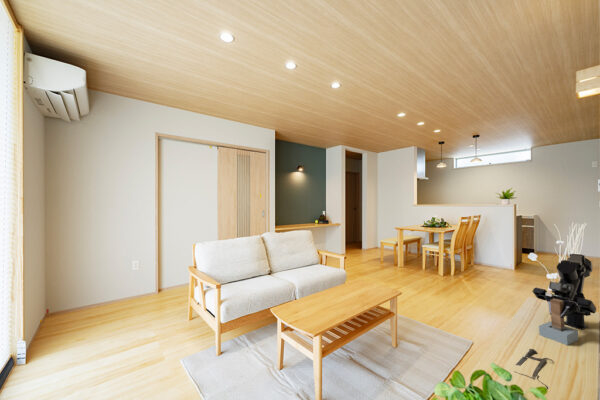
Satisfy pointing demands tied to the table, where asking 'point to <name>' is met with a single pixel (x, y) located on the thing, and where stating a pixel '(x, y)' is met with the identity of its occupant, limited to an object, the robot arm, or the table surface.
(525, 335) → the table surface
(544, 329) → the holder
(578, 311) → the robot arm
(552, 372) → the table surface
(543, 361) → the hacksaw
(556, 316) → the tan rectangular block
